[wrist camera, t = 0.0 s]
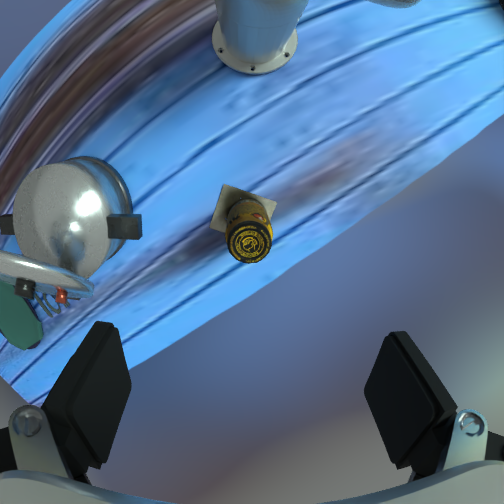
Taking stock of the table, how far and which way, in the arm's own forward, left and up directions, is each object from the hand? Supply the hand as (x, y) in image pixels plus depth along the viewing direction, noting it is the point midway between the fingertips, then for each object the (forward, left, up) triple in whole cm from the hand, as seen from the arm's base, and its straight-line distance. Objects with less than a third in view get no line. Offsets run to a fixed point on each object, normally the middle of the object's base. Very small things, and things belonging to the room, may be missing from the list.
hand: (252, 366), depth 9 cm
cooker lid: (+6, -27, -18) cm, 33 cm away
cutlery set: (+26, -50, -38) cm, 68 cm away
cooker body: (+5, -27, -37) cm, 46 cm away
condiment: (+4, 0, -37) cm, 37 cm away
